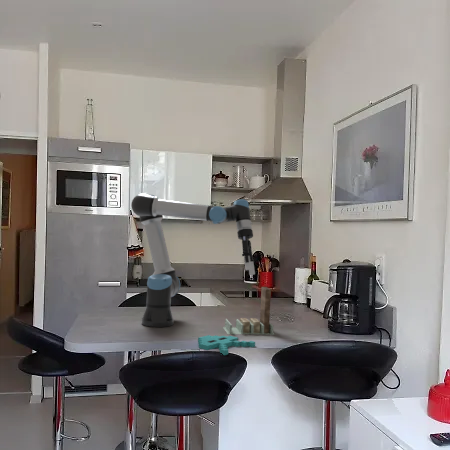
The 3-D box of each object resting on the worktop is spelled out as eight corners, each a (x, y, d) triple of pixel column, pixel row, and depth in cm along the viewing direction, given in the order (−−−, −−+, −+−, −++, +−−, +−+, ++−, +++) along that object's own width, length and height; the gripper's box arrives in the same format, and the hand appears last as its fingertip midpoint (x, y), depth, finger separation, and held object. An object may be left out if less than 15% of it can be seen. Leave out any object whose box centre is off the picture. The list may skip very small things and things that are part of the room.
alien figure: (255, 347, 192) (218, 337, 205) (255, 341, 192) (218, 332, 205) (224, 356, 177) (186, 345, 189) (224, 350, 177) (187, 340, 189)
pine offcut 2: (253, 332, 211) (253, 321, 211) (249, 328, 219) (250, 318, 219) (259, 332, 212) (260, 322, 212) (255, 328, 220) (256, 318, 220)
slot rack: (227, 336, 207) (227, 324, 207) (222, 329, 220) (223, 318, 220) (274, 336, 210) (275, 325, 210) (267, 329, 223) (268, 319, 223)
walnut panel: (263, 333, 212) (265, 289, 212) (259, 328, 220) (261, 286, 220) (268, 333, 212) (271, 289, 212) (264, 329, 220) (266, 287, 220)
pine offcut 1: (242, 332, 211) (243, 321, 211) (239, 328, 218) (240, 318, 218) (249, 332, 211) (249, 321, 211) (245, 328, 219) (246, 318, 219)
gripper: (248, 222, 216) (254, 266, 210) (255, 235, 240) (261, 275, 234) (233, 224, 218) (238, 268, 211) (241, 237, 241) (246, 277, 235)
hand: (250, 272), depth 222 cm, fingers open, 13 cm apart
